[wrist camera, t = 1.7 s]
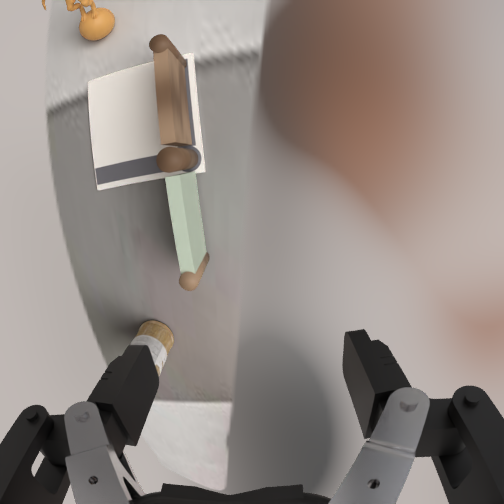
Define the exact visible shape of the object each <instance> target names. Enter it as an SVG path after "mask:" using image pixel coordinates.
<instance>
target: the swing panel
mask: <svg viewBox="0 0 504 504" xmlns="http://www.w3.org/2000/svg"><path fill="white" fill-rule="evenodd" d="M165 181H166V188H167V195H168V201H169V208H170V214H171V221H172V227H173V233H174V239H175V244H176V250H177V255H178V261H179V266H180V271H181V276H180V279H179V283H180V286H181V287H182V288H183V289H185V290H187V291H192V290H194V289H196V287H197V286H198V283H199V281H200V279H201V277H202V274H203V272H204V270H205V268H206V266H207V263H208V261H209V254H208V253H207V251H206V245H205V238H204V231H203V224H202V217H201V210H200V203H199V196H198V188H197V181H196V173H195V171H194V172H187V173H181V174H177V175H173V176H169V177H165Z"/></svg>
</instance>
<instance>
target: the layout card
mask: <svg viewBox="0 0 504 504" xmlns="http://www.w3.org/2000/svg"><path fill="white" fill-rule="evenodd" d="M182 56H183V58H184V59H185V60H186V62H187V65H186V68H185V79H186V90H187V101H188V111H189V121H190V130H191V139H192V145H188V146H181V147H178V146H169V145H161V140H160V131H159V121H158V111H157V99H156V87H155V72H154V61H152V62H148V63H145V64H141V65H137V66H134V67H130V68H127V69H123V70H120V71H117V72H114V73H111V74H108V75H105V76H102V77H99V78H96V79H93V80H91V81H88V102H89V119H90V131H91V142H92V152H93V160H94V168H95V176H96V182H97V189H98V190H103V189H108V188H113V187H117V186H123V185H128V184H133V183H138V182H144V181H150V180H155V179H161V178H165V177H169V176H173V175H177V174H181V173H187V172H194V171H195V173H201V172H206V169H205V161H204V152H203V144H202V135H201V126H200V116H199V107H198V97H197V86H196V75H195V64H194V53H188V54H183V55H182ZM165 147H178V148H187V149H192V150H194V151H195V152H196V153H197V154H198V163H197V165H196V166H195V167H193V168H191V169H187V170H181V171H176V172H171V173H166V172H163V171H161V170H160V169H159V167H158V166H157V162H156V159H157V155H158V153H159V152H160V151H161V150H162V149H163V148H165Z"/></svg>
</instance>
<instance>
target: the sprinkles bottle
mask: <svg viewBox="0 0 504 504" xmlns="http://www.w3.org/2000/svg"><path fill="white" fill-rule="evenodd" d="M173 342H174V337H173V334H172V332H171V330H170V329H169V328H168V327H167V326H166V325H165V324H163V323H161V322H158V321H153V320H152V321H147V322H145V323H143V324H142V325H141V327H140V328H139V331H138V333H137V335H136V337H135V338H134V339H133V340H132V342H131V343H130V345H147V346H148V347H149V349H150V351H151V355H152V358H153V361H154V363H155V366H156V369H157V372H158V376H159V375H160V373H161V371H162V368H163V366H164V363H165V361H166V358H167V355H168V352H169V350H170V349H171V347H172V345H173Z"/></svg>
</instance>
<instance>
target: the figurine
mask: <svg viewBox="0 0 504 504" xmlns="http://www.w3.org/2000/svg"><path fill="white" fill-rule="evenodd" d="M65 1H66V5H67V10H68V11H73V10H76V9H78V8H79V9H80V12H81V16H82V17H81V21H80V24H79V30H80V33H81V35H82V36H83V37H84V38H86V39H88V40H99V39H102V38H104V37H105V36H107V35H108V34H109V33H110V32H111V30H112V29H113V27H114V23H115V19H114V15H113V13H112V12H111V11H110V10H108V9H106V8H96V6H95V3H94V2H93V0H78V1H80V2H81V4H80V3H76V4H74V3H75V0H65ZM42 5H43V7H44V9H45V10H46V6H45V0H42ZM83 6H85V7H87V6H91V9H92V10H90V11H89V12H87V13H86V12H85V10H84V7H83Z"/></svg>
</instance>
